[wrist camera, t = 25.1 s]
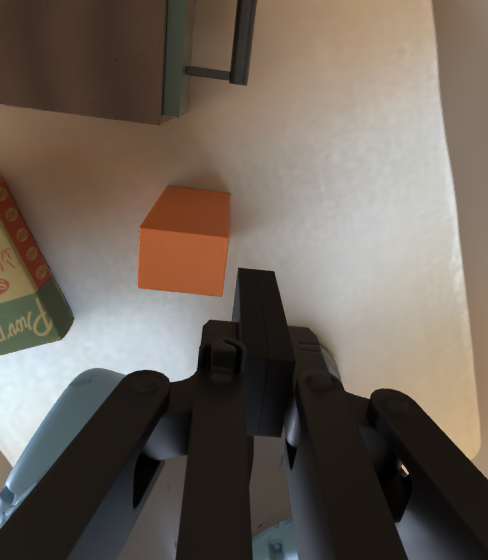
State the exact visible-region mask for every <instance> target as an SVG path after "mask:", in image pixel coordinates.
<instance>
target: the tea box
mask: <svg viewBox="0 0 488 560" xmlns="http://www.w3.org/2000/svg"><path fill="white" fill-rule="evenodd" d="M230 197H231V194H230V193H223V192H215V191H206V190H198V189H189V188H181V187H172V186H167V187H166V188H165V190H164V191H163V193H162V194H161V196H160V197H159V199H158V200H157V202H156V203H155V205H154V206H153V208H152V209H151V211H150V212H149V214H148V215H147V217H146V218H145V220H144V221H143V223H142V224H141V226H140V227H139V255H138V288H142V289H152V290H162V291H171V292H181V293H191V294H201V295H211V296H220V297H222V294H223V286H224V277H225V268H226V259H227V251H228V242H229V224H230Z"/></svg>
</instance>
